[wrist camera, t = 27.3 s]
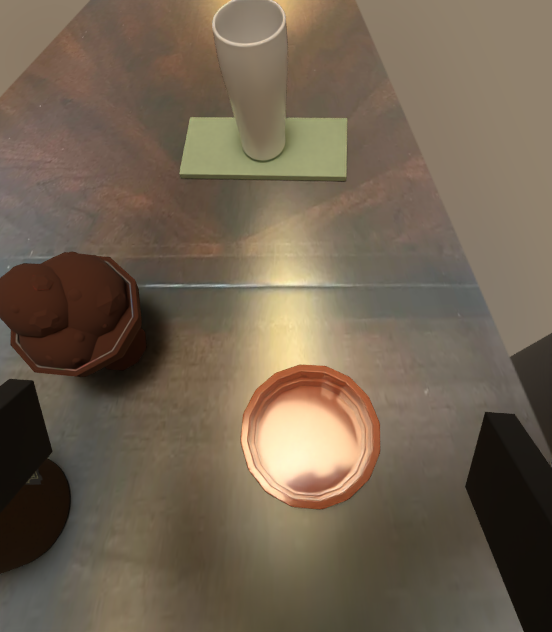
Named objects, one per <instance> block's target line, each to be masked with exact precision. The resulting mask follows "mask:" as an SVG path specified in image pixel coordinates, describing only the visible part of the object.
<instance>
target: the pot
mask: <svg viewBox="0 0 552 632" xmlns="http://www.w3.org/2000/svg"><path fill="white" fill-rule="evenodd" d="M241 446H242V449H243V453H244V456H245V460H246V463H247V467H248V469H249V471H250V472H251V474H252V475H253V476H254V478H255V479H256V480H257V481H258V483H259V484H260V485H261V486H262V488H263V489H264V490H265V492H267V493H268V494H270V495H271V496H273V497H275V498H277V499H279V500H280V501H282V502H284V503H286V504H288V505H289V506H291V507H298V508H310V509H324V508H327V507H330V506H332V505H335V504H338V503H341V502H343V501H346V500H348V499H350V498H351V497H352V496H353V495H354V494H355V493H356V492H357V491H358V490H359V489H360V488H361V487H362V486H363V485H364V484H365V483H366V482H367V481H368V480H369V479H370V477H371V474H372V472H373V469H374V467H375V464H376V462H377V459H378V456H379V454H380V423H379V420H378V418H377V415H376V413H375V410H374V408H373V406H372V403H371V401H370V398H369V397H368V396H367V394H366V393H365V392H364V391H363V390H362V389H361V388H360V387H359V386H358V385H357V384H356V383H355V382H354V381H353V380H352V379H351V378H350V377H348V376H346V375H344V374H342V373H340V372H338V371H335V370H333V369H331V368H329V367H327V366H316V365H297V366H294V367H291V368H288V369H285V370H283V371H280V372H277V373H275V374H274V375H272V376H271V377H270V378H269V379H268V380H267V381H265V382H264V383H263V384H262V385H261V386H260V387H259V388H257V389H256V391H255V392H254V394H253V396H252V398H251V400H250V402H249V404H248V406H247V408H246V410H245V411H244V414H243V421H242V431H241Z"/></svg>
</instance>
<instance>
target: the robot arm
mask: <svg viewBox="0 0 552 632" xmlns="http://www.w3.org/2000/svg"><path fill="white" fill-rule="evenodd" d="M51 453H52V448H51V444H50V441H49V437H48V433H47V430H46V426H45V422H44V419H43V415H42V411H41V407H40V404H39V400H38V396H37V393H36V389H35V385H34V382H33V381H32V380H17V379H9V380H7V381H6V382H5V383H4V384H2V385H1V386H0V513H1V512H2V511H3V510H4V508H5V507H6V506H7V505H8V504H9V503H10V501H11V500H12V499H13V498H14V497H15V495H16V494H17V493H18V492H19V491H20V489H21V488H22V487H23V486H24V485H25V484H26V482H27V481H28V480H29V479H30V478H31V476H32V475H33V474H34V473H35V472H36V471H37V469H38V468H39V467H40V466H41V465H42V463H43V462H44V461H45V460H46V459H47V458H48V456H49V455H50V454H51ZM465 488H466V490H467V493H468V495H469V498H470V500H471V503H472V505H473V507H474V510H475V512H476V515H477V517H478V520H479V522H480V525H481V527H482V530H483V532H484V535H485V537H486V540H487V542H488V544H489V547H490V549H491V552H492V554H493V557H494V559H495V562H496V564H497V567H498V569H499V572H500V574H501V577H502V579H503V582H504V584H505V586H506V589H507V591H508V594H509V596H510V599H511V601H512V604H513V606H514V609H515V611H516V614H517V616H518V619H519V621H520V623H521V626H522V628H523V631H524V632H552V468H551V467H550V465H549V464H548V462H547V461H546V459H545V458H544V456H543V455H542V453H541V452H540V451H539V449H538V448H537V446H536V445H535V443H534V442H533V440H532V439H531V437H530V436H529V435H528V433H527V432H526V430H525V429H524V427H523V426H522V424H521V423H520V421H519V420H518V418H517V417H516V416H515V414H507V413H492V412H485V415H484V418H483V422H482V426H481V430H480V433H479V437H478V441H477V445H476V448H475V452H474V456H473V459H472V463H471V467H470V471H469V474H468V478H467V482H466V486H465Z"/></svg>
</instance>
